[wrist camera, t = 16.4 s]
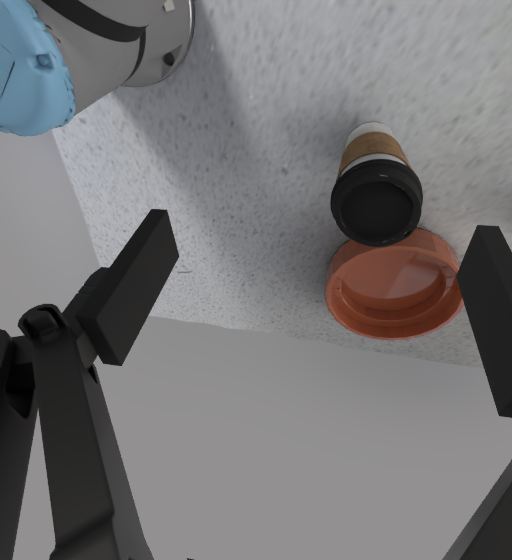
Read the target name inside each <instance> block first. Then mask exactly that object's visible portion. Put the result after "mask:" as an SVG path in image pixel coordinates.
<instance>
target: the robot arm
mask: <svg viewBox="0 0 512 560" xmlns="http://www.w3.org/2000/svg"><path fill="white" fill-rule="evenodd" d="M194 24H195V8H194V0H0V131H2V132H5V133H13V134H16V135H19V136H35V135H39V134H43V133H45V132H47V131H49V130H51V129H53V128H57V127H62V126H64V125H65V124H67V123H69V122H70V121H71V119H72V118H73V116H75V115H76V114H78V113H79V112H81V111H82V110H84V109H85V108H87V107H88V106H90V105H91V104H93V103H94V102H96V101H97V100H99V99H100V98H102V97H103V96H105V95H106V94H108V93H109V92H111V91H112V90H114V89H115V88H117V87H118V86H126V87H143V86H148V85H152V84H155V83H158V82H160V81H162V80H163V79H165V78H166V77H168V76H169V75H170V74H172V73H173V72H174V71H175V70H176V69H177V68H178V67H179V66H180V64H181V63H182V62H183V60H184V59H185V57H186V55H187V53H188V50H189V48H190V45H191V42H192V38H193V33H194ZM178 258H179V253H178V250H177V246H176V242H175V238H174V234H173V231H172V227H171V223H170V219H169V215H168V212H167V210H160V209H151V210H150V212H149V213H148V215H147V216H146V217H145V219H144V220H143V222H142V223H141V224H140V226H139V227H138V229H137V230H136V231H135V233H134V234H133V236H132V237H131V238H130V240H129V241H128V243H127V244H126V245H125V247H124V248H123V250H122V251H121V252H120V254H119V255H118V257H117V258H116V259H115V261H114V262H113V264H112V265H111V266H110V268H106V267H101V268H100V269H98V270H97V271H96V272H94V273H93V274H92V275H91V276H90V277H89V278H88V280H87V281H86V282H85V284H84V286H82V288H81V289H80V290H79V291H78V292H79V293H77V294H76V295H75V297H74V298H73V299H72V301H71V302H70V303H69V305H68V306H67V307H66V309H65V310H64V311H63V313H61V312H60V310H59V309H58V307H57V306H55V305H53V304H42V305H38V306H36V307H34V308H32V309H30V310H28V311H27V312H26V313H25V314H23V315H22V317H21V318H20V320H19V322H18V327H19V328H20V329H21V331H22V332H23V334H24V336H18V337H12V338H11V337H10V336H9V334H8V333H7V332H6V331H5V330H1V329H0V560H12V558H13V552H14V546H15V540H16V534H17V529H18V523H19V517H20V511H21V505H22V499H23V493H24V488H25V482H26V476H27V470H28V464H29V458H30V452H31V446H32V440H33V435H34V428H35V422H36V417H37V411H38V409H39V416H40V424H41V432H42V440H43V447H44V455H45V463H46V470H47V478H48V485H49V493H50V501H51V508H52V516H53V524H54V532H55V539H56V540H55V541H56V545H55V549H54V551H53V552H52V553H51V555H50V559H49V560H154V558H153V556H152V553H151V551H150V549H149V547H148V545H147V543H146V540H145V538H144V535H143V532H142V528H141V524H140V521H139V517H138V514H137V510H136V507H135V503H134V500H133V496H132V493H131V489H130V486H129V482H128V479H127V475H126V472H125V468H124V465H123V461H122V458H121V454H120V451H119V447H118V444H117V440H116V437H115V433H114V430H113V426H112V423H111V419H110V416H109V413H108V409H107V405H106V402H105V398H104V395H103V391H102V388H101V384H100V381H99V377H98V374H97V370H96V367H95V366H94V364H93V362H94V360H95V359H96V357H97V355H99V357H100V359H101V361H102V362H103V364H110V365H118V366H122V364H123V362H124V360H125V358H126V357H127V355H128V353H129V351H130V349H131V347H132V345H133V343H134V341H135V340H136V338H137V336H138V334H139V332H140V330H141V328H142V326H143V324H144V322H145V321H146V319H147V317H148V315H149V313H150V311H151V309H152V307H153V305H154V303H155V302H156V300H157V298H158V296H159V294H160V292H161V290H162V288H163V286H164V284H165V282H166V281H167V279H168V277H169V275H170V273H171V271H172V269H173V267H174V265H175V263H176V262H177V260H178ZM456 279H457V282H458V285H459V288H460V292H461V295H462V298H463V301H464V304H465V308H466V311H467V314H468V317H469V321H470V324H471V327H472V330H473V334H474V337H475V340H476V343H477V346H478V350H479V353H480V356H481V359H482V363H483V366H484V369H485V372H486V376H487V378H488V382H489V385H490V388H491V392H492V395H493V398H494V401H495V405H496V408H497V411H498V414H499V416H503V417H511V418H512V252H511V250H510V248H509V246H508V244H507V242H506V240H505V238H504V236H503V234H502V232H501V230H500V228H499V226H484V225H477V227H476V230H475V232H474V234H473V237H472V239H471V241H470V244H469V246H468V249H467V251H466V253H465V256H464V258H463V260H462V263H461V265H460V268H459V270H458V272H457V275H456ZM187 560H193V559H188V558H187ZM442 560H512V460H511V462H510V463H509V465H508V466H507V467H506V469H505V470H504V472H503V473H502V475H501V476H500V477H499V479H498V481H497V482H496V483H495V485H494V486H493V488H492V489H491V490H490V492H489V493H488V495H487V496H486V498H485V499H484V500H483V502H482V504H481V505H480V506H479V508H478V509H477V510H476V512H475V513H474V515H473V516H472V518H471V519H470V521H469V522H468V523H467V525H466V526H465V528H464V529H463V531H462V532H461V534H460V535H459V536H458V538H457V539H456V541H455V542H454V544H453V545H452V546H451V548H450V549H449V551H448V552H447V553H446V555H445V557H444V558H443V559H442Z"/></svg>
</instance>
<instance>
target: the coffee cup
mask: <svg viewBox="0 0 512 560" xmlns="http://www.w3.org/2000/svg"><path fill="white" fill-rule="evenodd" d="M422 201H423V194H422V187H421V183H420V181H419V178H418V177H417V175H416V174H415V173H414V171H413V170H412V168H411V166H410V164H409V162H408V161H407V159H406V157H405V155H404V153H403V151H402V149H401V147H400V145H399V143H398V142H397V139H396V137H395V135H394V133H393V132H392V130H391V129H390V128H389V127H388V126H386V125H384V124H382V123H378V122H370V123H366V124H363V125H361V126H359V127H357V128H356V129H355V130H353V132H352V133H351V134H350V135H349V137H348V138H347V141H346V144H345V149H344V154H343V156H342V160H341V164H340V168H339V172H338V176H337V180H336V184H335V185H334V188H333V191H332V194H331V203H330V204H331V211H332V214H333V217H334V219H335V220H336V223H337V225H338V227H339V228H340V230H341V231H342V232H343V233H344V234H345V235H346V236H348V237H349V238H350V239H352V240H354V241H356V242H358V243H360V244H363V245H366V246H371V247H385V246H389V245H393V244H395V243H398V242H400V241H402V240H404V239H406V238H408V237H409V236H410V235H411V234H412V233H413V231H414V230H415V228H416V226H417V224H418V222H419V220H420V216H421V207H422Z"/></svg>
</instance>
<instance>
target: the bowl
mask: <svg viewBox="0 0 512 560" xmlns="http://www.w3.org/2000/svg"><path fill="white" fill-rule="evenodd" d="M459 268H460V262H459V260H458V257H457V254H456V252H455V251H454V250H453V248H452V247H451V246H450V245H449V244H448V243H447V242H446V241H445V240H443V239H442V238H440V237H438V236H436V235H435V234H433V233H431V232H429V231H425V230H421V229H418V228H415V230H414V231H413V233H412V234H411V235H410V236H409V237H408V238H406V239H404V240H402V241H400V242H398V243H395V244H393V245H389V246H385V247H371V246H366V245H363V244H360V243H358V242H356V241H354V240H352V239H351V240H350V241H348V242H347V243H345V244H344V245H343V246H342V247H341V248H340V249H339V250H338V251H337V252H336V253H335V254H334V255H333V257H332V259H331V261H330V264H329V266H328V269H327V280H326V295H325V300H326V303H327V307H328V310H329V311H330V313H331V314H332V316H333V317H334V319H335V320H336V321H337V322H339V323H340V324H341V325H342V326H344V327H345V328H346V329H348V330H350V331H352V332H354V333H356V334H359V335H362V336H365V337H369V338H374V339H381V340H406V339H411V338H416V337H420V336H424V335H426V334H429V333H431V332H434V331H436V330H438V329H440V328H441V327H443V326H445V325H446V324H448V323H449V322H451V321H452V320H453V318H454V317H455V316H456V315H457V314H458V313H459V312H460V311H461V309H462V307H463V305H464V301H463V298H462V295H461V292H460V288H459V285H458V282H457V279H456V275H457V272H458V270H459Z"/></svg>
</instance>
